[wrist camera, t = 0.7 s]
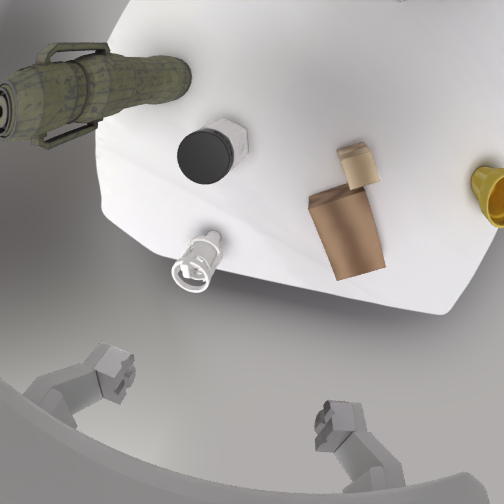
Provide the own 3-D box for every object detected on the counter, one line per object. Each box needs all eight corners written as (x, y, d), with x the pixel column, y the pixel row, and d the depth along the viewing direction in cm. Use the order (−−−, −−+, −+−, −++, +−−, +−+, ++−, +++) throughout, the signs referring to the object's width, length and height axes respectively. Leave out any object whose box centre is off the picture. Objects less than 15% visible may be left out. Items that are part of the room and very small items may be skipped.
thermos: (196, 49, 38) (25, 37, 10) (189, 109, 45) (27, 173, 16) (153, 50, 39) (-17, 61, 10) (148, 107, 46) (-12, 169, 17)
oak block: (363, 142, 42) (371, 151, 36) (371, 168, 44) (379, 181, 39) (336, 150, 44) (340, 160, 38) (345, 176, 46) (350, 189, 41)
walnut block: (359, 178, 46) (364, 190, 41) (380, 249, 53) (385, 267, 48) (309, 195, 50) (308, 209, 45) (335, 262, 57) (337, 280, 52)
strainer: (228, 223, 57) (203, 267, 45) (230, 252, 61) (208, 299, 48) (196, 221, 58) (165, 262, 46) (200, 249, 62) (173, 293, 50)
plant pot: (454, 186, 41) (477, 207, 33) (480, 146, 35) (508, 161, 27) (482, 214, 42) (503, 238, 34) (506, 178, 36) (532, 197, 28)
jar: (250, 164, 49) (232, 187, 39) (208, 165, 50) (181, 188, 41) (247, 116, 44) (227, 126, 34) (202, 119, 46) (172, 131, 36)
